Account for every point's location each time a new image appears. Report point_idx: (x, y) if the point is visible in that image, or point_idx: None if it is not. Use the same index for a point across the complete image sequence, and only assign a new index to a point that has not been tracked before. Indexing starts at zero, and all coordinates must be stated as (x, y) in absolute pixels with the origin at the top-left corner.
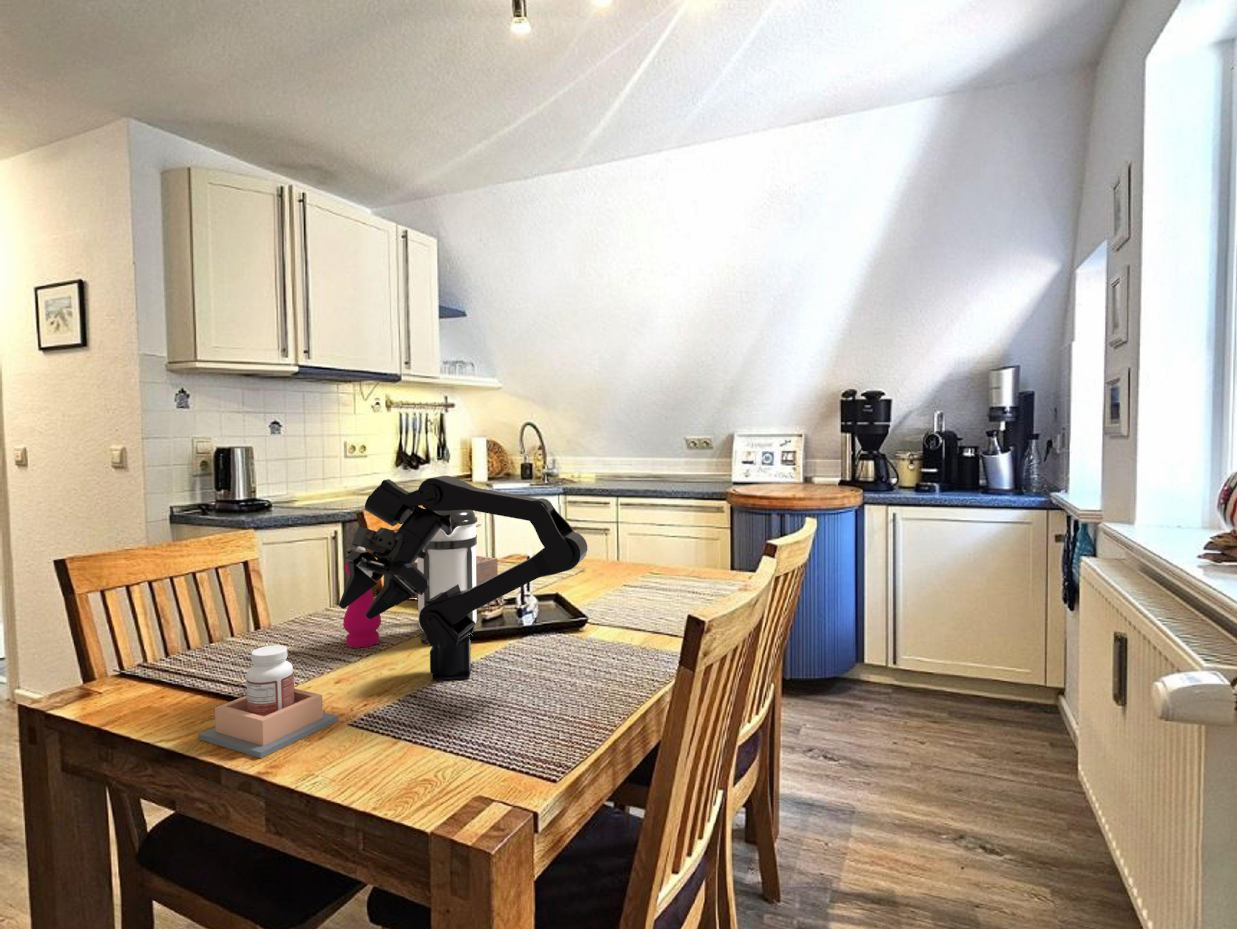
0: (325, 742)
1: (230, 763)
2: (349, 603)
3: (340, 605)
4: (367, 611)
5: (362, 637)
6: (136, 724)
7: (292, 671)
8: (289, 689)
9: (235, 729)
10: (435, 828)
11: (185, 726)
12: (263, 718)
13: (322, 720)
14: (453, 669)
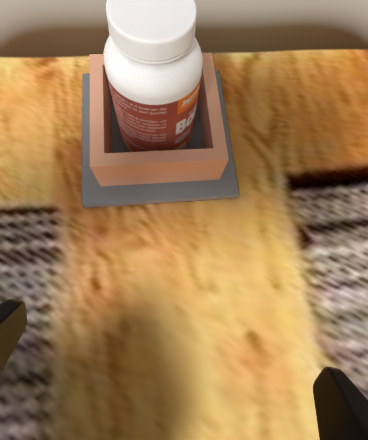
0: (38, 148)
1: None
2: (323, 436)
3: (324, 370)
4: (2, 313)
5: None
6: (339, 68)
7: (114, 86)
8: (112, 98)
9: None
10: None
11: (278, 91)
12: (96, 59)
13: (91, 179)
14: None
